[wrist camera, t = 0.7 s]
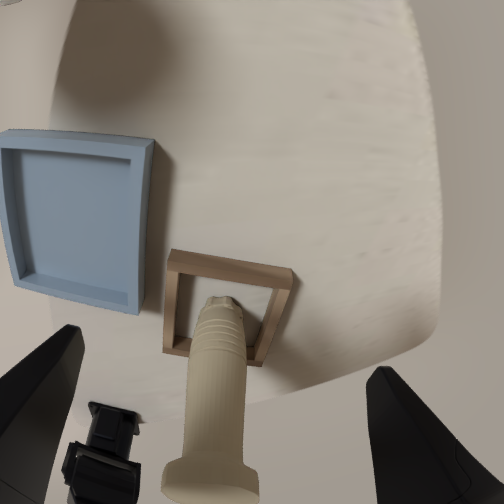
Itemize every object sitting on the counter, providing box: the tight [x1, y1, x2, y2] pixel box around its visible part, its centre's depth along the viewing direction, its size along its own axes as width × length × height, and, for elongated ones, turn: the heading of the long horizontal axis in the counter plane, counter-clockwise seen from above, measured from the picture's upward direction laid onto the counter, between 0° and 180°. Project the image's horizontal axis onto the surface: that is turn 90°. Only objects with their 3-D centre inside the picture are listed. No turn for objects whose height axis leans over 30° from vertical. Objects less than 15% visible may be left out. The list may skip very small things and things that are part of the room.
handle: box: [161, 296, 259, 504], centre depth 19 cm, size 5×6×15 cm
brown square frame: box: [163, 249, 294, 367], centre depth 25 cm, size 10×9×2 cm
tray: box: [0, 129, 155, 316], centre depth 20 cm, size 13×12×2 cm
